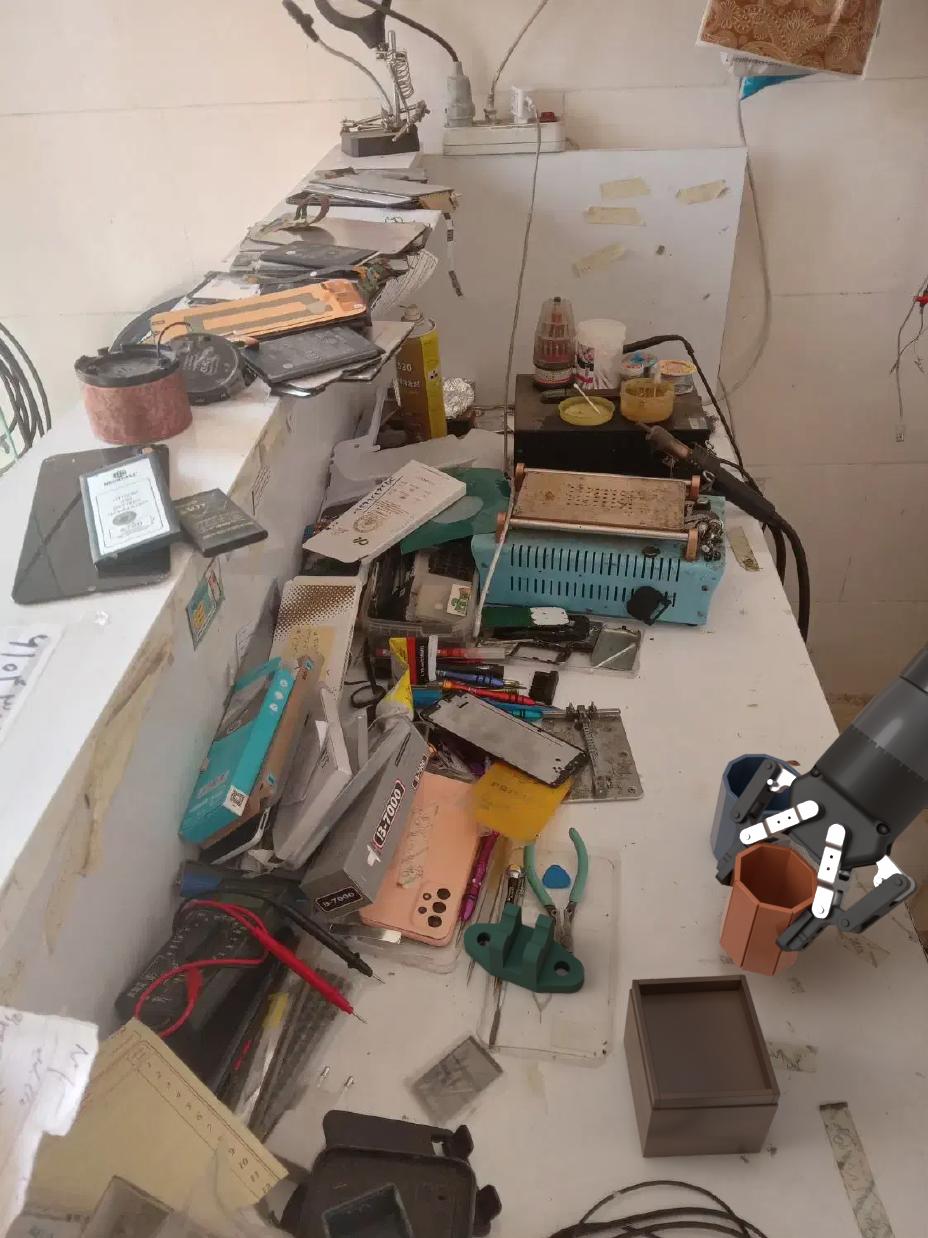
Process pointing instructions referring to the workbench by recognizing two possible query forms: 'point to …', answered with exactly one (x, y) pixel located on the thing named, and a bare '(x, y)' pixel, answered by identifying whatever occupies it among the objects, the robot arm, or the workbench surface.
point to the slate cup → (729, 793)
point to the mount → (524, 953)
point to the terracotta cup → (765, 906)
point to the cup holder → (698, 1066)
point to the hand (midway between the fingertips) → (752, 913)
